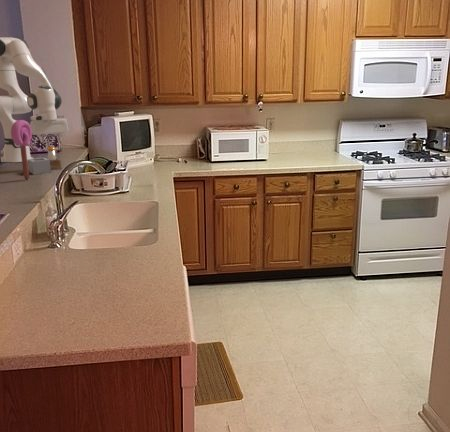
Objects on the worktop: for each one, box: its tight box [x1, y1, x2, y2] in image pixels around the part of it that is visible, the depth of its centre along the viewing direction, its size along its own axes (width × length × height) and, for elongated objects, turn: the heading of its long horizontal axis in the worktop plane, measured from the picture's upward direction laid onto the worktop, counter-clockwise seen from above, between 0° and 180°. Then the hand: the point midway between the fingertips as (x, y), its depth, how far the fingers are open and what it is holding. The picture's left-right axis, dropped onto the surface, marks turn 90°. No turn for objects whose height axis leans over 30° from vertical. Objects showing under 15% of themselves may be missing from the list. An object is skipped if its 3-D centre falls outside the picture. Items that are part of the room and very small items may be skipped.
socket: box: [27, 157, 52, 175], centre depth 267 cm, size 9×9×7 cm
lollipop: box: [11, 119, 33, 181], centre depth 245 cm, size 13×8×30 cm, turn 167°
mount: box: [50, 157, 62, 171], centre depth 277 cm, size 7×7×5 cm
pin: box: [47, 146, 57, 161], centre depth 276 cm, size 4×4×12 cm
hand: (50, 141), depth 273 cm, fingers open, 8 cm apart
